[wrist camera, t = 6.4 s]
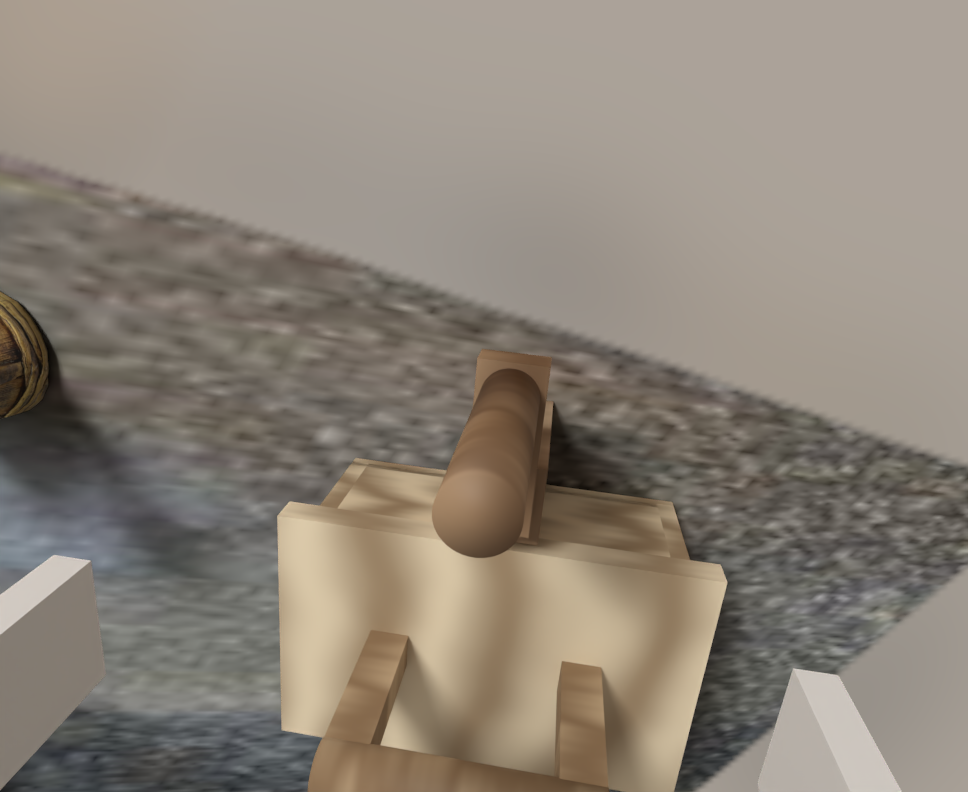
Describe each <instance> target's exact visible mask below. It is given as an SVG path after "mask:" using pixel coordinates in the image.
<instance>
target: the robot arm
mask: <svg viewBox="0 0 968 792" xmlns="http://www.w3.org/2000/svg"><path fill="white" fill-rule="evenodd" d="M105 675H106V672H105V664H104V656H103V649H102V641H101V633H100V626H99V618H98V610H97V603H96V595H95V587H94V580H93V572H92V564H91V561H89V560H83V559H76V558H70V557H63V556H57V555H53V556H52V557H50V558H49V559H48V560H46V561H45V562H44V563H42V564H41V565H40V566H38V567H37V568H36V569H34V570H33V571H32V572H30V573H29V574H28V575H26V576H25V577H24V578H22V579H21V580H20V581H18V582H17V583H16V584H14V585H13V586H12V587H10V588H9V589H8V590H6V591H5V592H3V593H2V594H1V595H0V790H1V789H2V788H3V787H4V786H5V785H6V783H7V782H8V781H9V780H10V779H11V778H12V777H13V776H14V775H15V774H16V773H17V771H18V770H19V769H20V768H21V767H22V766H23V765H24V764H25V763H26V762H27V761H28V759H29V758H30V757H31V756H32V755H33V754H34V753H35V752H36V751H37V750H38V749H39V747H40V746H41V745H42V744H43V743H44V742H45V741H46V740H47V739H48V738H49V737H50V735H51V734H52V733H53V732H54V731H55V730H56V729H57V728H58V727H59V726H60V725H61V723H62V722H63V721H64V720H65V719H66V718H67V717H68V716H69V715H70V714H71V713H72V711H73V710H74V709H75V708H76V707H77V706H78V705H79V704H80V703H81V702H82V701H83V699H84V698H85V697H86V696H87V695H88V694H89V693H90V692H91V691H92V690H93V689H94V687H95V686H96V685H97V684H98V683H99V682H100V681H101V680H102V679H103V678H104V677H105ZM757 786H758V789H759V792H902V791H901V789H900V788H899V786H898V784H897V782H896V780H895V778H894V777H893V775H892V773H891V771H890V769H889V767H888V766H887V764H886V762H885V760H884V758H883V757H882V755H881V753H880V751H879V749H878V747H877V745H876V744H875V742H874V740H873V738H872V736H871V735H870V733H869V731H868V729H867V727H866V725H865V724H864V722H863V720H862V718H861V716H860V714H859V713H858V711H857V709H856V707H855V705H854V704H853V701H852V700H851V698H850V696H849V694H848V692H847V691H846V689H845V687H844V685H843V683H842V681H841V680H840V678H839V676H838V675H832V674H826V673H819V672H813V671H806V670H800V669H793V671H792V674H791V677H790V680H789V684H788V687H787V690H786V693H785V697H784V700H783V703H782V706H781V709H780V713H779V716H778V719H777V722H776V725H775V729H774V732H773V735H772V738H771V742H770V745H769V748H768V751H767V754H766V758H765V761H764V764H763V767H762V770H761V774H760V777H759V780H758V783H757Z"/></svg>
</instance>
